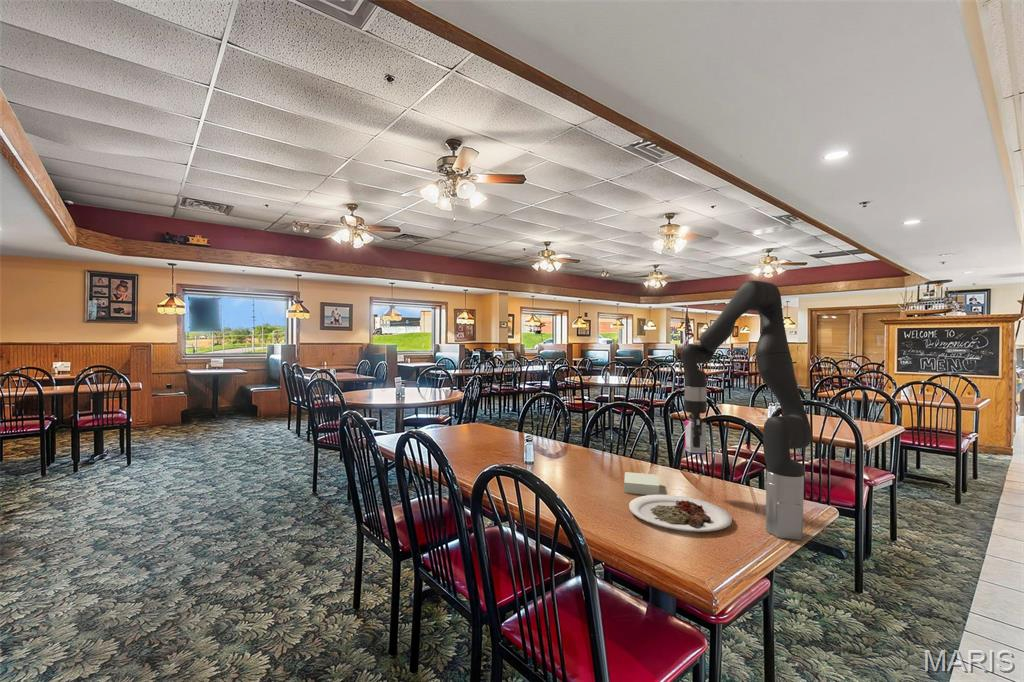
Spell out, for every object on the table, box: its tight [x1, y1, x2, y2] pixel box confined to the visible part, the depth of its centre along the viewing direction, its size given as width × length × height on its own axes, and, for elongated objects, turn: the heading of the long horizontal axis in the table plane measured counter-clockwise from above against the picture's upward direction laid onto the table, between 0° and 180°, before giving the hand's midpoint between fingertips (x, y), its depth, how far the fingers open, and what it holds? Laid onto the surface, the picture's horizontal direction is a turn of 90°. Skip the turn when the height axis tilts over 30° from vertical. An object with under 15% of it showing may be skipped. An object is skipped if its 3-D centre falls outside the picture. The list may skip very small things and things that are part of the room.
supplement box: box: [684, 419, 707, 456], centre depth 166 cm, size 6×6×12 cm
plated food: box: [628, 494, 733, 532], centre depth 142 cm, size 30×30×3 cm
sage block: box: [623, 471, 660, 496], centre depth 169 cm, size 14×12×4 cm
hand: (695, 445), depth 166 cm, fingers closed on supplement box, 6 cm apart
